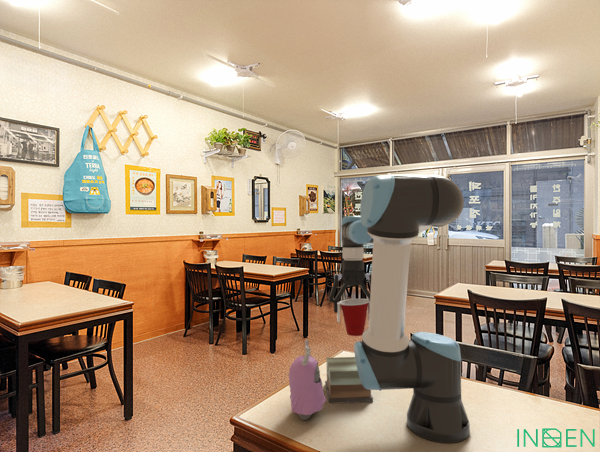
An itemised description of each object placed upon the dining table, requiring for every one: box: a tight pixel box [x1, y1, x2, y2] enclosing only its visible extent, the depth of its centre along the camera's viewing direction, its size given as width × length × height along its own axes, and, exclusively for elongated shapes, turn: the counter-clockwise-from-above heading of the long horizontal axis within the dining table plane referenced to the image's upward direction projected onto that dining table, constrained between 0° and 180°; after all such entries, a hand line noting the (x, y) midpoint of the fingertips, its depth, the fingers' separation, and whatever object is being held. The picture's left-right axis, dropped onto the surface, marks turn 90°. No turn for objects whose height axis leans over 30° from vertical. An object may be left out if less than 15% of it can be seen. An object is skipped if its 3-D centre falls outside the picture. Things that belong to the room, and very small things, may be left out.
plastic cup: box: [338, 298, 370, 337], centre depth 131 cm, size 11×11×12 cm
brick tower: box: [324, 356, 374, 404], centre depth 115 cm, size 13×13×9 cm
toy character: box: [288, 339, 327, 421], centre depth 102 cm, size 12×10×20 cm
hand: (354, 321), depth 131 cm, fingers closed on plastic cup, 11 cm apart
